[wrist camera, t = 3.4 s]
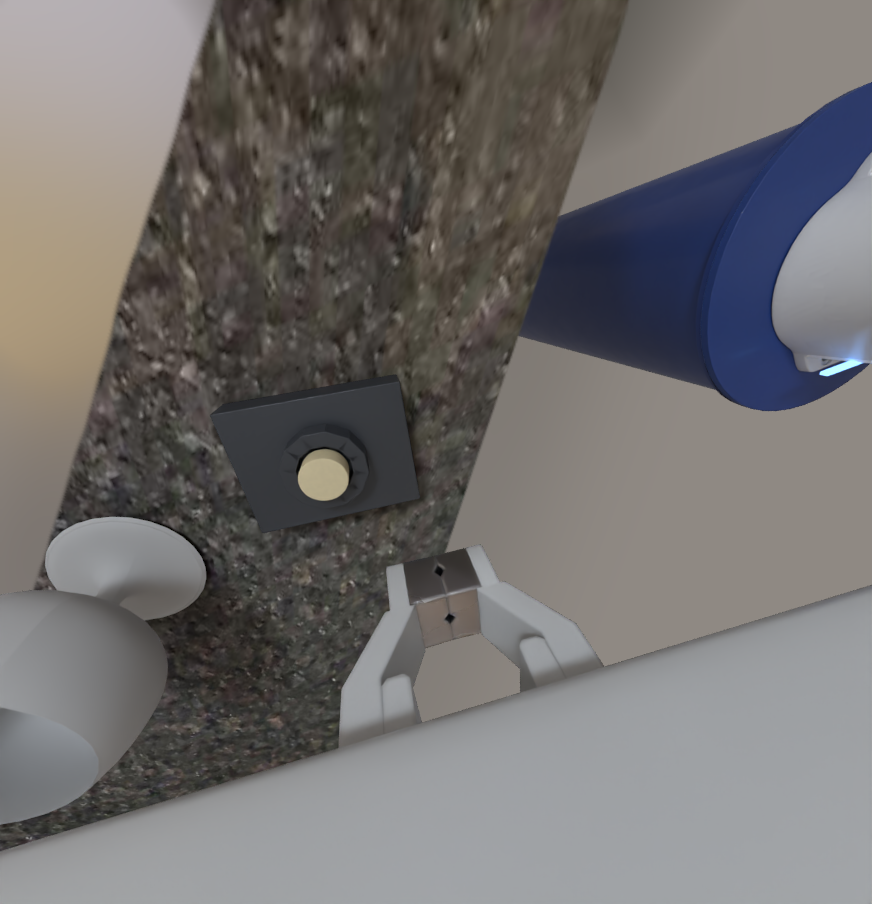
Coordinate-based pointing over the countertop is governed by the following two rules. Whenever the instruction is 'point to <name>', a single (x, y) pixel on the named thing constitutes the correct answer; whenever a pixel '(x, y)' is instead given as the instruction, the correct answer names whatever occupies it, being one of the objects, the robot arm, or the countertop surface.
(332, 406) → the push button plate
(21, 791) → the chalice
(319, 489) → the push button switch
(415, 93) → the countertop surface
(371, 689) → the robot arm
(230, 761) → the countertop surface
